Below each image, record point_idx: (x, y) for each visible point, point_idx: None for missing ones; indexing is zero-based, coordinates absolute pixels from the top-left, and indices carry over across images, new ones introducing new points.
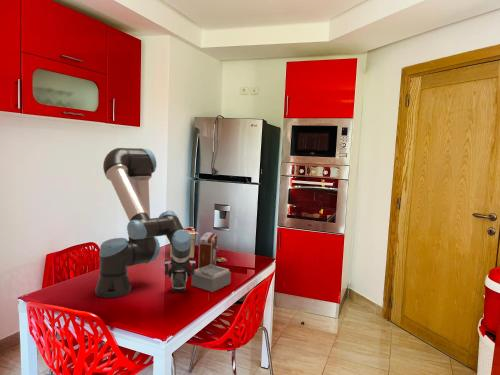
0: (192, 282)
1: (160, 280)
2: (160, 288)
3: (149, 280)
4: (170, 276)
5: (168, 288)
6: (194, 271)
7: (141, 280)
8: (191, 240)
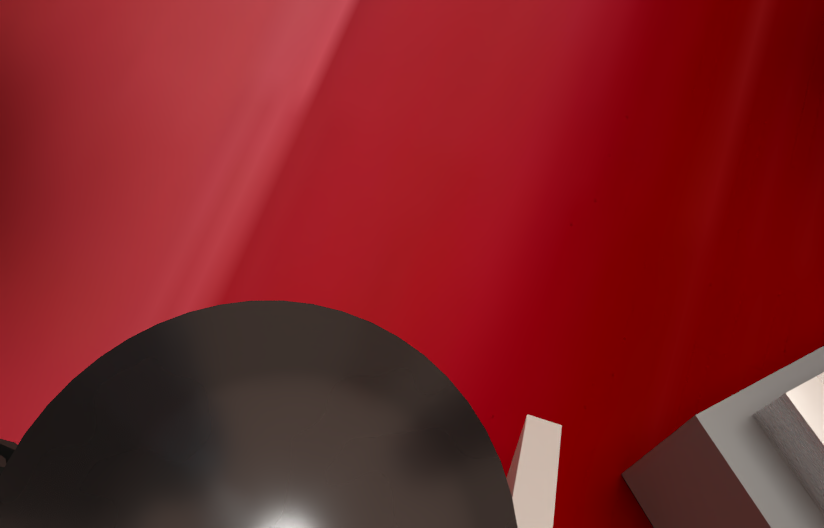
0: (650, 485)
1: (235, 105)
2: None
3: (100, 58)
4: None
5: None
6: (779, 417)
7: (8, 26)
8: None
